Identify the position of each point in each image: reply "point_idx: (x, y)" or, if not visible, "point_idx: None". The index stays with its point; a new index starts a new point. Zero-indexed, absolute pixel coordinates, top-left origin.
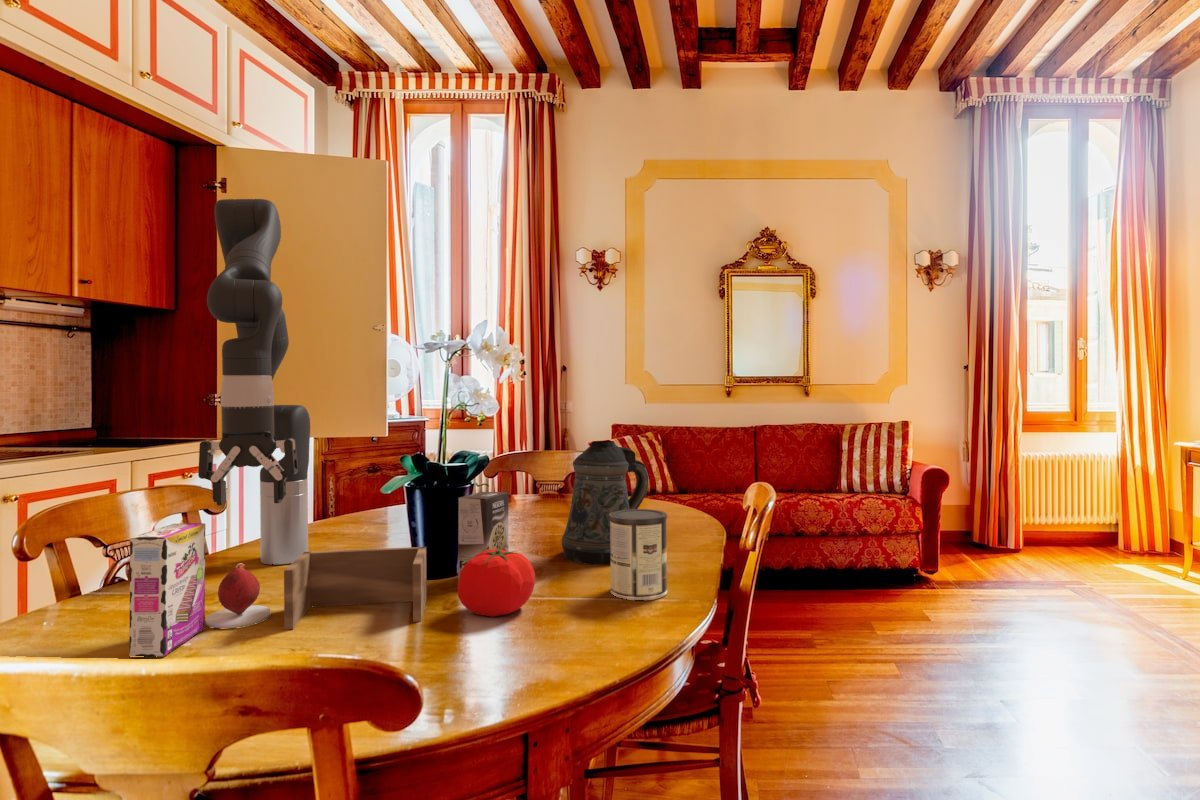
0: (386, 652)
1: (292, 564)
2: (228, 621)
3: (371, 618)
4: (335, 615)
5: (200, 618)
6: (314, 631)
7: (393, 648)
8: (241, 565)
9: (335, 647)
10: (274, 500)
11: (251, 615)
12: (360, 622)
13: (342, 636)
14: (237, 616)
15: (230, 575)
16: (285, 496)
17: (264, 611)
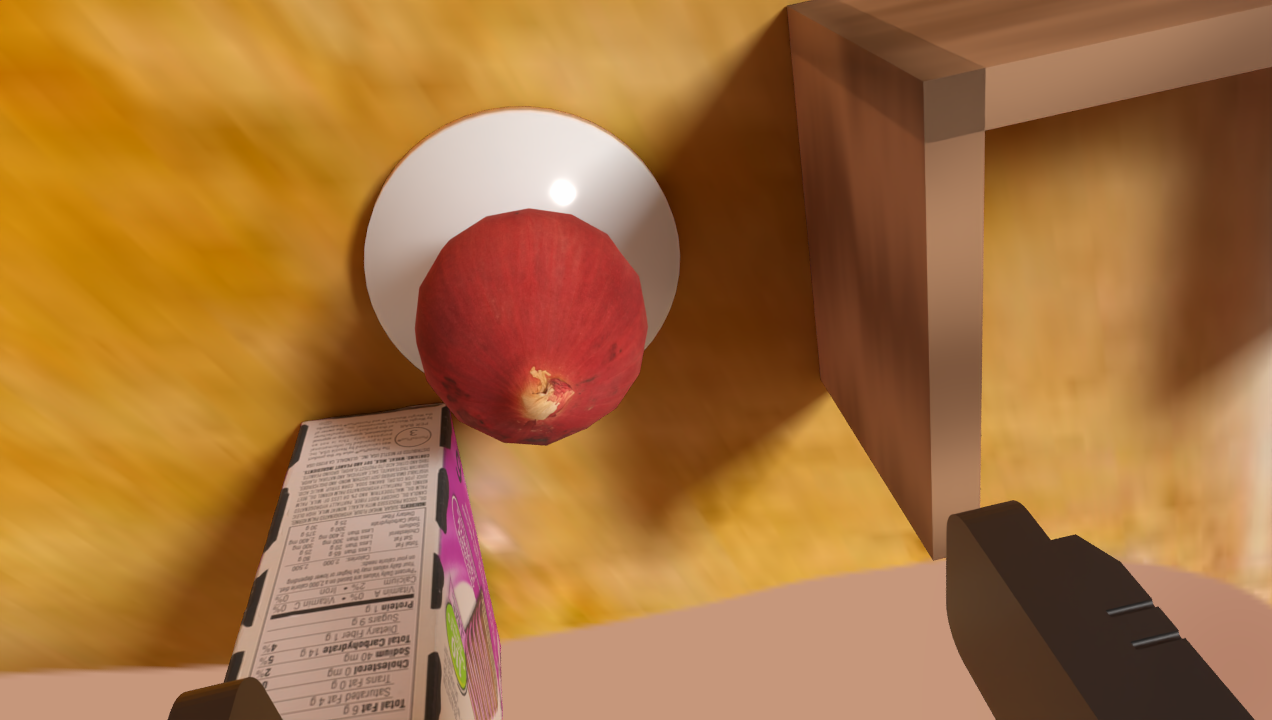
0: (1234, 536)
1: (943, 443)
2: None
3: (1178, 215)
4: (1002, 179)
5: (458, 478)
6: None
7: (1257, 506)
8: (561, 409)
9: (1065, 516)
10: (971, 663)
11: None
12: (1131, 270)
13: (1075, 424)
14: None
15: (518, 436)
16: (1097, 550)
17: (644, 222)
